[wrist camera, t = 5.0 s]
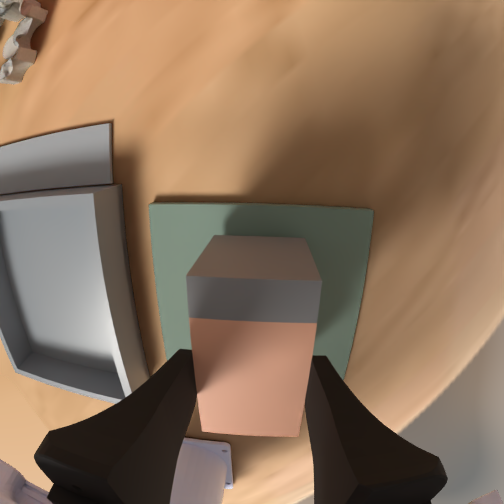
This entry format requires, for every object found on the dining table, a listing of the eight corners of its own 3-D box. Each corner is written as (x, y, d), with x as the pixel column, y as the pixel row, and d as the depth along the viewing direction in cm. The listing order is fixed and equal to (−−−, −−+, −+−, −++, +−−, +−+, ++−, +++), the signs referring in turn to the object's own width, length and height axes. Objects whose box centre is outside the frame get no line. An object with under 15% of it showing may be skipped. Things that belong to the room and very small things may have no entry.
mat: (340, 379, 20) (342, 384, 19) (172, 371, 20) (169, 377, 20) (370, 208, 16) (374, 210, 15) (152, 202, 16) (148, 204, 16)
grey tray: (158, 409, 22) (147, 437, 19) (46, 381, 23) (30, 401, 20) (120, 122, 15) (90, 119, 12) (-8, 149, 16) (-38, 154, 13)
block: (293, 367, 18) (298, 436, 12) (218, 364, 18) (202, 431, 13) (304, 238, 15) (322, 281, 10) (214, 234, 15) (185, 276, 10)
